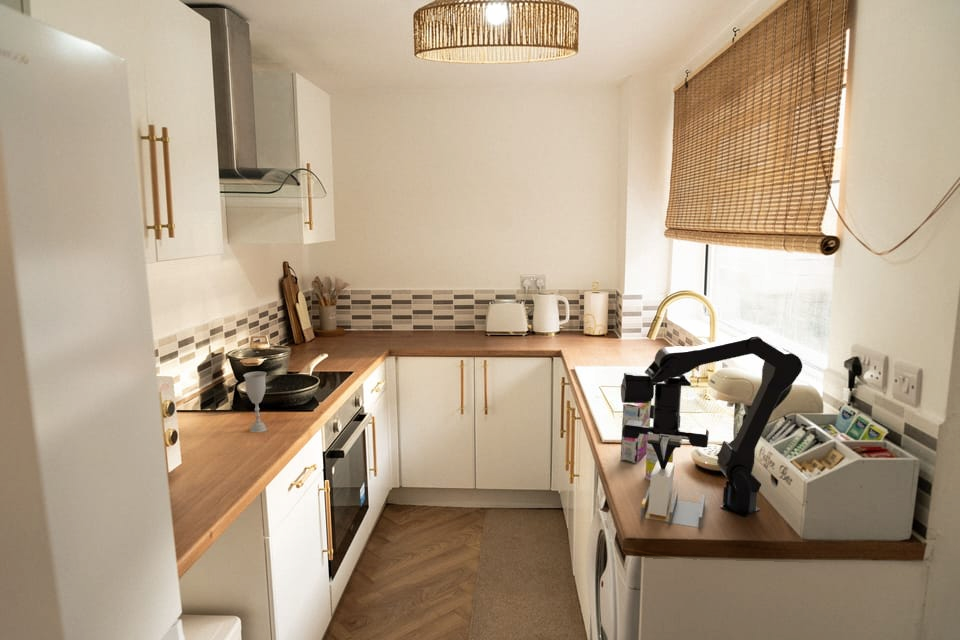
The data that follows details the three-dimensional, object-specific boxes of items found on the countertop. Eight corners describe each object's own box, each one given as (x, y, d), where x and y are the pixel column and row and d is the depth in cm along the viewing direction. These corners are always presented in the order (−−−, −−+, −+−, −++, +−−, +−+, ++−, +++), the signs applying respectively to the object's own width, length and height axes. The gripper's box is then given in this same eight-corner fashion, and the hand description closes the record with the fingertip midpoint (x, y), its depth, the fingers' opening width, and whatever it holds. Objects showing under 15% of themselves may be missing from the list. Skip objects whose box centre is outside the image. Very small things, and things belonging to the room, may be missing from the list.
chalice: (262, 434, 210) (259, 377, 207) (242, 433, 211) (238, 376, 208) (273, 426, 217) (270, 371, 214) (253, 425, 218) (250, 371, 215)
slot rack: (704, 505, 161) (705, 491, 161) (700, 529, 150) (701, 513, 149) (648, 496, 166) (648, 483, 165) (640, 519, 154) (641, 504, 154)
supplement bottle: (667, 473, 180) (669, 427, 178) (675, 484, 174) (677, 435, 171) (642, 474, 180) (644, 427, 178) (649, 484, 173) (651, 436, 171)
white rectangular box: (671, 499, 164) (674, 463, 163) (666, 516, 152) (669, 477, 152) (654, 496, 165) (657, 460, 164) (647, 513, 154) (651, 474, 153)
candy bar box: (637, 464, 186) (639, 406, 184) (619, 460, 189) (622, 403, 186) (649, 451, 196) (652, 396, 193) (632, 448, 198) (635, 394, 196)
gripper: (711, 398, 160) (707, 462, 162) (631, 390, 166) (627, 451, 169) (709, 412, 149) (704, 479, 152) (623, 402, 156) (620, 467, 158)
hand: (663, 468), depth 158 cm, fingers closed, pressing on white rectangular box
